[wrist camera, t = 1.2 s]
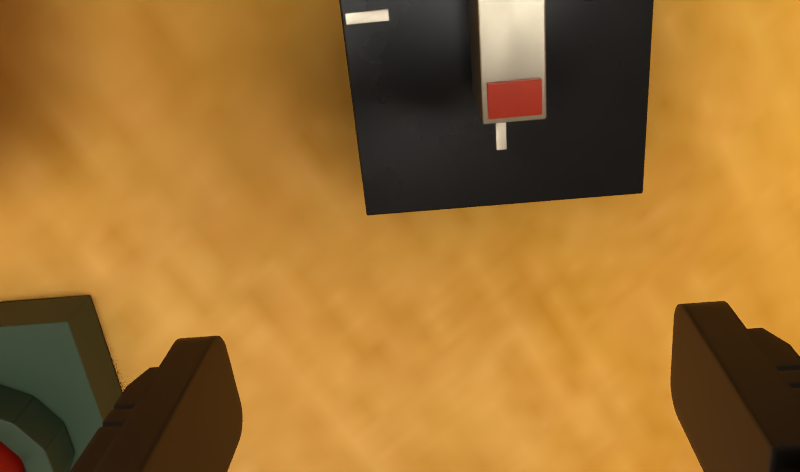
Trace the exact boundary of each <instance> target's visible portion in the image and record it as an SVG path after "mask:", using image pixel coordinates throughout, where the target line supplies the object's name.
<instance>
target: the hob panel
mask: <svg viewBox="0 0 800 472" xmlns="http://www.w3.org/2000/svg"><path fill="white" fill-rule="evenodd" d="M339 1H340V9H341V17H342V25H343V33H344V41H345V48H346V56H347V64H348V72H349V80H350V88H351V95H352V103H353V111H354V119H355V127H356V135H357V142H358V150H359V158H360V166H361V174H362V182H363V190H364V197H365V205H366V213H367V215H378V214H390V213H403V212H415V211H427V210H440V209H452V208H465V207H477V206H489V205H502V204H514V203H526V202H539V201H551V200H564V199H576V198H588V197H601V196H613V195H626V194H638V193H642V192H643V178H644V160H645V142H646V124H647V107H648V89H649V71H650V54H651V36H652V18H653V1H654V0H546V118H545V119H538V120H526V121H515V122H504V123H492V124H483V122H482V119H481V116H480V113H479V109H478V106H477V103H476V100H475V97H474V94H473V90H472V71H471V52H470V33H469V14H468V0H339Z"/></svg>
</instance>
